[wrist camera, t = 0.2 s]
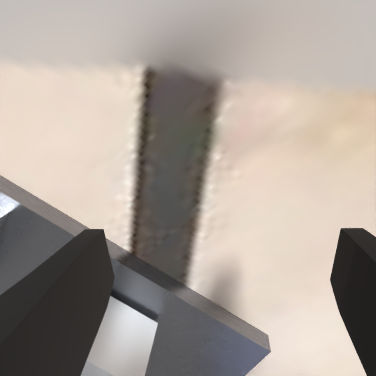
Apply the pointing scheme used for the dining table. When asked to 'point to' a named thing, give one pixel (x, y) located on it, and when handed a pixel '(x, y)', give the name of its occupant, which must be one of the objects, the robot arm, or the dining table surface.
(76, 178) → the dining table surface
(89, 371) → the white rectangular block
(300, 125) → the dining table surface
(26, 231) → the gauge base
